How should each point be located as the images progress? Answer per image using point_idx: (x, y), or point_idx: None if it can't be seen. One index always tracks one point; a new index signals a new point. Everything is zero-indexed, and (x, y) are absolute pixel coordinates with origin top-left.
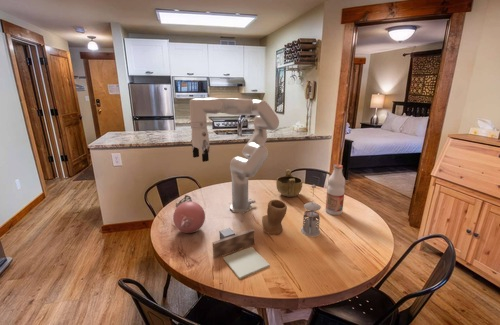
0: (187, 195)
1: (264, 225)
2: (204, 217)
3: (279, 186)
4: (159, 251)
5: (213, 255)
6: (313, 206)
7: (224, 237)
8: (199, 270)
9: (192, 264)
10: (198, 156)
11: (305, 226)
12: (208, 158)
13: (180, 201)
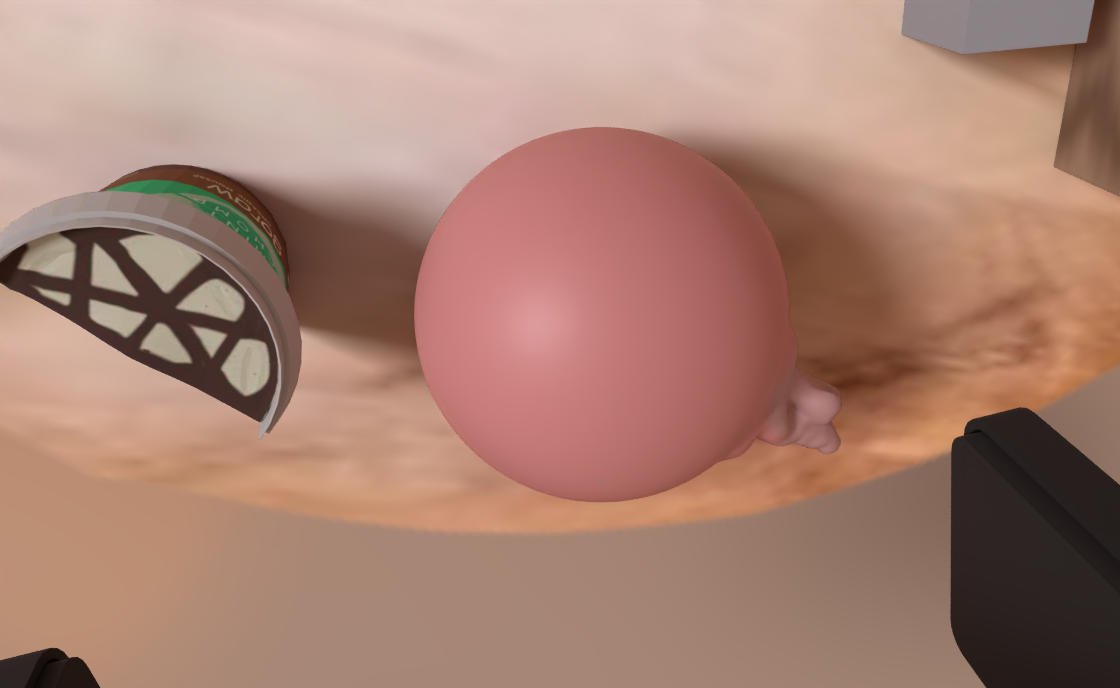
0: (4, 255)
1: None
2: (709, 161)
3: None
4: (745, 507)
5: (1067, 169)
6: None
7: (1075, 40)
8: (1114, 299)
9: (1028, 329)
10: (86, 680)
11: None
12: (1087, 462)
13: (178, 368)
